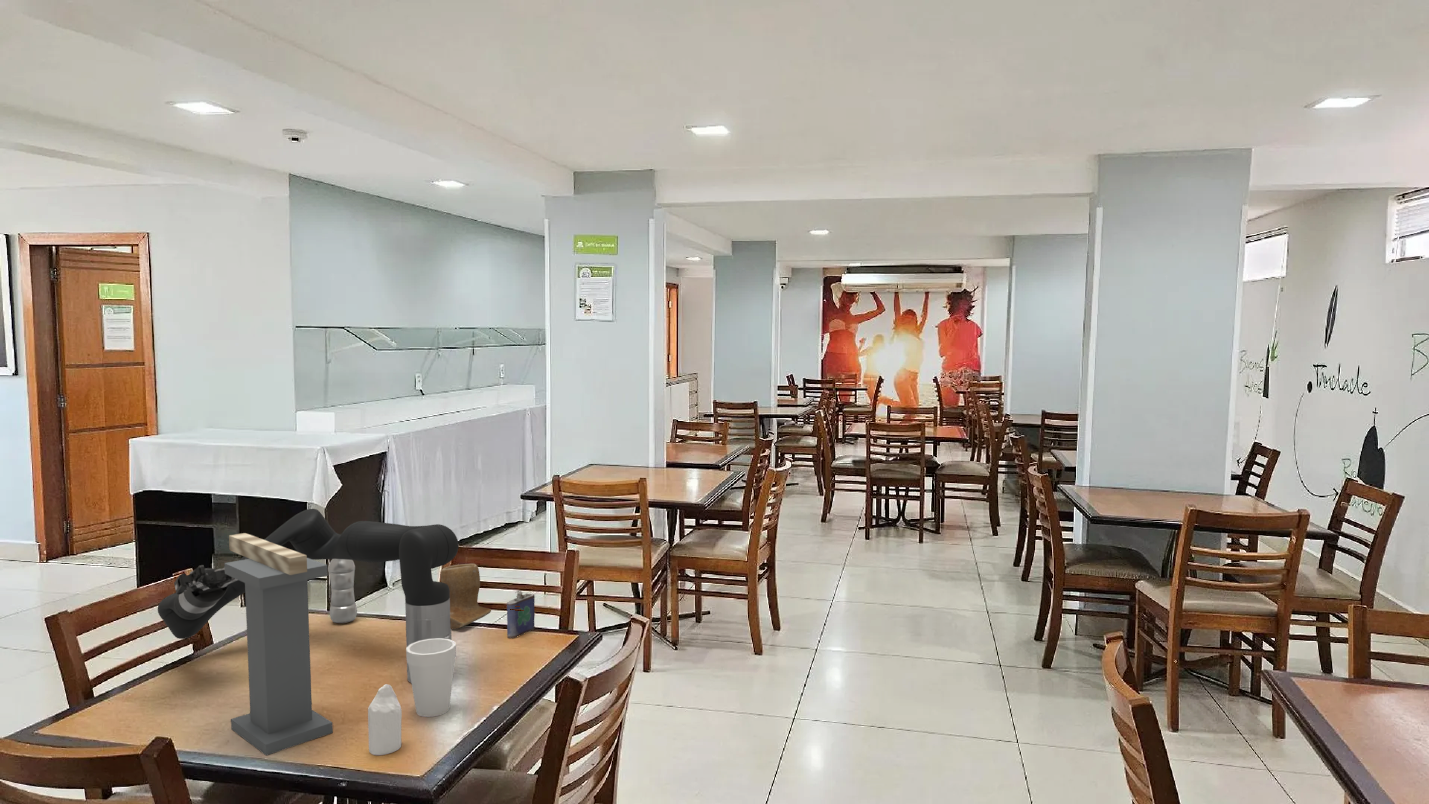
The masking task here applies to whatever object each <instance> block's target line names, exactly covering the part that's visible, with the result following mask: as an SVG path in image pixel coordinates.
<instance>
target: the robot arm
mask: <svg viewBox="0 0 1429 804" xmlns="http://www.w3.org/2000/svg"><path fill="white" fill-rule="evenodd" d="M263 540H266V541H269V542H271V543H274V544H277V545H280V546H282V547H283V545H286V544H287V542H290V543H291V544H290V545H292V547H293V548H294V549H295V551H296V552H299V553H302V554H304V555H307V558H309V559H312V560H315V561H317V560H319V561H320V560H332V559H347V560H353V561H357V562H365V563H384V562H394V561H399V568H400V583H401V588H402V591H403V594H404V599H405V600H404V601H405V603H404V605H405V607H404V608H405V638H406V640H405V641H406V642H405V643H406V648H407V647H408V646H409V645H410V644H412V643H415V642H417V641H421V640H426V639H435V638H443V639H450V640H452V638H453V637H452V629H451V628H450V589H449V586H448V585H447V584H445V583H442V582H441V581H436V580H433V579H434V578H433V573H432V570H433V569H436V568H439V567H443V566H444V565H447V564H448V563H450V562H451V561H453V560H454V558H455V557H456V556H457V554H458V551H459V545H460V544H459V540H458V537H457V535H456V534H455V532H454V531H453V530H452V529H451V528H450V527H448V526H446V525H444V524H439V523H438V524H431V525H429V524H428V525H404V524H397V523H388V522H379V521H369V520H358V521H355V522H353V523H351V524H349V526H347V527H345V529H344V530H343V532H341V533H338V532H336V531H335V530H334V528H333V527H332V526H331V525H330V523H329V522H328V521H327V519H326V518H325V517H324V515H323V514H322V512H320V511H319V510H318V509H317V508H309V509H307V508H306V509H304V510H303V511H300V512H299V513H297V514H294V515H293V516H292V517H290V518H289V519H287V521H285V522H284V523H283V524H281V525H280V526H279V527H278V528H276V529H275V530H274V531H273V532H272V533H270V534H269V535H268V536H267V537H266V538H264V539H263ZM245 559H249V558H247V557H245V556H242V557H241V558H239V559H238V560H237V561H239V560H245ZM173 584H174V588H175V589H174V590H175V592H174V593H172V594H169V595H167V596H166V597H164V598H163V599H162V600H161V601H160V602H159V603H158V606H157V613H158V615H159V617H160V618H161V619H162V621H163V622H164V624H165V625H166V627H167V628H168V630H169V631H170V632H171V634H172V635H173V636H174V637H175V638H176V639H178V640H179V639H180V640H185V639H189V638H191V637H194V636H195V635H196V634H198V633H199V631H201V629H203V628H204V626H206V624H207V623H208V622H209V621H210V620H211V619H212V617H213V616H214V615H216V613H218V612H219V611H220V610H222V608H224V607H225V606H226V605H228V604H230V603H231V602H232V601H234V600H235V599H238V598H239V597H240V596H242V595H243V594H244V593H245V583H244V582H242V581H240V580H238V579H235V578H233V577H231V576H229V575H227V574H225V566H223V567H222V568H217V569H216V568H212V567H207V568H206V567H205V566H204V564H201V565H198V567H196V568H195V569H194V570H191V571H190V572H189V574H186V573H181V574H179V575H178V576H177V578H176V579H175V581H174V582H173ZM452 641H453V640H452ZM406 673H407V674H406V676H407V681H408V682H409V683H411V677H410V671H409V665H408V663H407V662H406ZM411 684H412V683H411Z"/></svg>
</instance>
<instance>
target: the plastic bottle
mask: <svg viewBox="0 0 1429 804" xmlns="http://www.w3.org/2000/svg"><path fill="white" fill-rule="evenodd" d="M355 570H356V565H355V562H354V560H347V559H330V562H329V564H328V565H327V572H328V576H329V582H330V592H331V596H330V598H331V599H330V608H329V617H330V620H331V621H332V622H333V623H335V624H346V623H349V622H350V623H351V622H353V621H354V620H356V618H357V614H358V613H357V612H358V609H357V603H356V599H355V592H354V590H355V589H354V587H355V586H354V584H355V582H354V581H355Z"/></svg>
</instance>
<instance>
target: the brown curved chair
mask: <svg viewBox="0 0 1429 804" xmlns="http://www.w3.org/2000/svg"><path fill="white" fill-rule="evenodd" d="M440 582H442V583H445V584H447V585H448V586H449V589H450V628H451V630H458V629H460V628H463V627H465V626H467V625H469V624H473V623H475V622H476V621H478V620H481V619H482V618H484V617H486V616H487V615H489V614H490V613H491V612H492V609H491V608H488V607H483V606H481V605H479V603H478V602H479V600H478V599H479V592H480V587H481V575H480V570H479V566H478V565H477V564H475V563H462V564H455V565H449V566H446V567H443V568H442V569H441V571H440Z"/></svg>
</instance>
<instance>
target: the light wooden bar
mask: <svg viewBox="0 0 1429 804" xmlns="http://www.w3.org/2000/svg"><path fill="white" fill-rule="evenodd" d="M228 539H229V541H228V543H229V544H228V545H229V547H228V548H229V551H231V552H233V553H235V554H237V555H240V556H242V557H244V556H245V557H247V558H249V559H252V560H254V561H257V562H259V563H262V564H264V565H267V566H269V567H271V568H274V569H276V570H279V571H281V572H284V573H286V574H289V575H293V574H298V573H303V572H307V555H304V554H302V553H299V552H298V551H297V550H293V549H290V548H287V547H285V546H283V545H282V546H280V545H277V544H274V543H271V542H269V541H266V540H264V539H263V538H259V536H255V535H253V534H249V533H246V532H243V533H242V532H241V533H236V534H229V535H228Z"/></svg>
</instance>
